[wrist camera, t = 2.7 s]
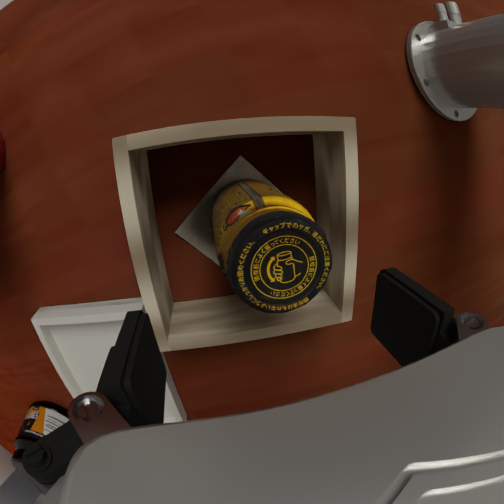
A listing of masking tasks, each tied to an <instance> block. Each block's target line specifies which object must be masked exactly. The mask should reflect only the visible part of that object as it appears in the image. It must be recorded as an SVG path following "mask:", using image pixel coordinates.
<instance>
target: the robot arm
mask: <svg viewBox="0 0 504 504" xmlns="http://www.w3.org/2000/svg"><path fill="white" fill-rule="evenodd" d="M434 8H435V11H436V14H437V16H438V20H437V23H436V22H432V21H425V22H422V23H419V24H417V25H415V26H414V27H413V28H412V29H411V30H410V32H409V34H408V37H407V43H406V51H407V59H408V64H409V67H410V70H411V74H412V76H413V78H414V81H415V83H416V85H417V87H418V89H419V91H420V92H421V94H422V96H423V97H424V98H425V100H426V101H427V103H428V104H429V105H430V106H431V107H432V108H433V109H434V110H435V111H436V112H437V113H438V114H439V115H441V116H443V117H444V118H446V119H449V120H452V121H465V120H467V119H469V118H471V117H472V116H473V115H474V113H475V112H476V110H477V108H502V109H504V14H500V15H495V16H491V17H486V18H482V19H478V20H474V21H470V22H466V23H462V20H461V15H460V12H459V9H458V6H457V4H456V3H454V2H445V3H444V4H441V3H435V4H434ZM447 16H448V17H447ZM448 19H449V20H448ZM454 311H455V309H454V308H453V307H451V306H450V305H448V304H447V303H446V302H444V301H443V300H441V299H440V298H438V297H437V296H436V295H434V294H433V293H431V292H430V291H428V290H427V289H425V288H424V287H423V286H421V285H420V284H418V283H417V282H415V281H414V280H412V279H411V278H409V277H408V276H406V275H405V274H403V273H402V272H400V271H399V270H397V269H396V268H388V269H383V270H381V271H380V274H378V276H377V282H376V291H375V300H374V307H373V315H372V322H371V331H372V333H373V335H374V336H375V337H376V338H377V339H378V340H379V341H380V342H381V344H382V345H383V346H384V347H385V348H386V349H387V350H388V351H389V352H390V353H391V355H392V356H393V357H394V358H395V359H396V360H397V361H398V362H399V364H400V365H401V366H402V367H401V368H398V369H396V370H393V371H391V372H388V373H385V374H383V375H380V376H377V377H375V378H372V379H369V380H366V381H363V382H361V383H358V384H355V385H352V386H348V387H345V388H342V389H339V390H336V391H332V392H329V393H326V394H322V395H319V396H315V397H311V398H308V399H304V400H300V401H296V402H292V403H288V404H283V405H279V406H275V407H270V408H265V409H260V410H255V411H250V412H244V413H239V414H232V415H226V416H219V417H212V418H205V419H196V420H188V421H180V422H171V423H164V407H165V391H166V377H167V373H166V367H165V364H164V361H163V358H162V355H161V352H160V349H159V346H158V343H157V340H156V337H155V334H154V331H153V327H152V324H151V321H150V317H149V315H148V313H144V312H143V311H142V310H135V311H128V312H127V313H126V316H125V319H124V321H123V324H122V327H121V329H120V332H119V335H118V338H117V340H116V343H115V346H112V347H111V348H110V350H109V353H108V356H107V359H106V362H105V365H104V367H103V370H102V373H101V376H100V379H99V383H98V386H97V389H96V392H92V391H91V392H85V393H83V394H80V395H78V396H77V397H75V398H74V399H73V400H72V401H71V403H70V405H69V407H68V417H69V419H70V420H69V421H68V422H66V423H65V424H63V425H61V426H60V427H58V428H57V429H55V430H53V431H52V432H50V433H49V434H47V435H45V436H44V437H42V438H41V439H39V440H37V441H36V442H34V443H32V444H31V445H30V446H28V447H27V448H26V450H25V451H24V453H23V456H22V464H23V468H22V469H21V470H19V469H18V468H16V469H15V471H14V472H13V473H12V474H11V475H10V476H9V477H8V478H7V479H6V480H5V481H4V483H3V484H2V485H1V486H0V504H504V327H495V328H490V329H489V328H488V325H487V322H486V320H485V319H484V318H483V317H482V316H481V315H479V314H477V313H474V312H470V311H465V312H461V313H459V314H458V315H457V316H456V319H454V318H453V314H454Z"/></svg>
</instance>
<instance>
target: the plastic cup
mask: <svg viewBox="0 0 504 504" xmlns="http://www.w3.org/2000/svg"><path fill="white" fill-rule="evenodd" d="M4 156H5V145H4V139H3V137H2V134H1V132H0V170H1V168H2V165H3V163H4Z"/></svg>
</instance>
